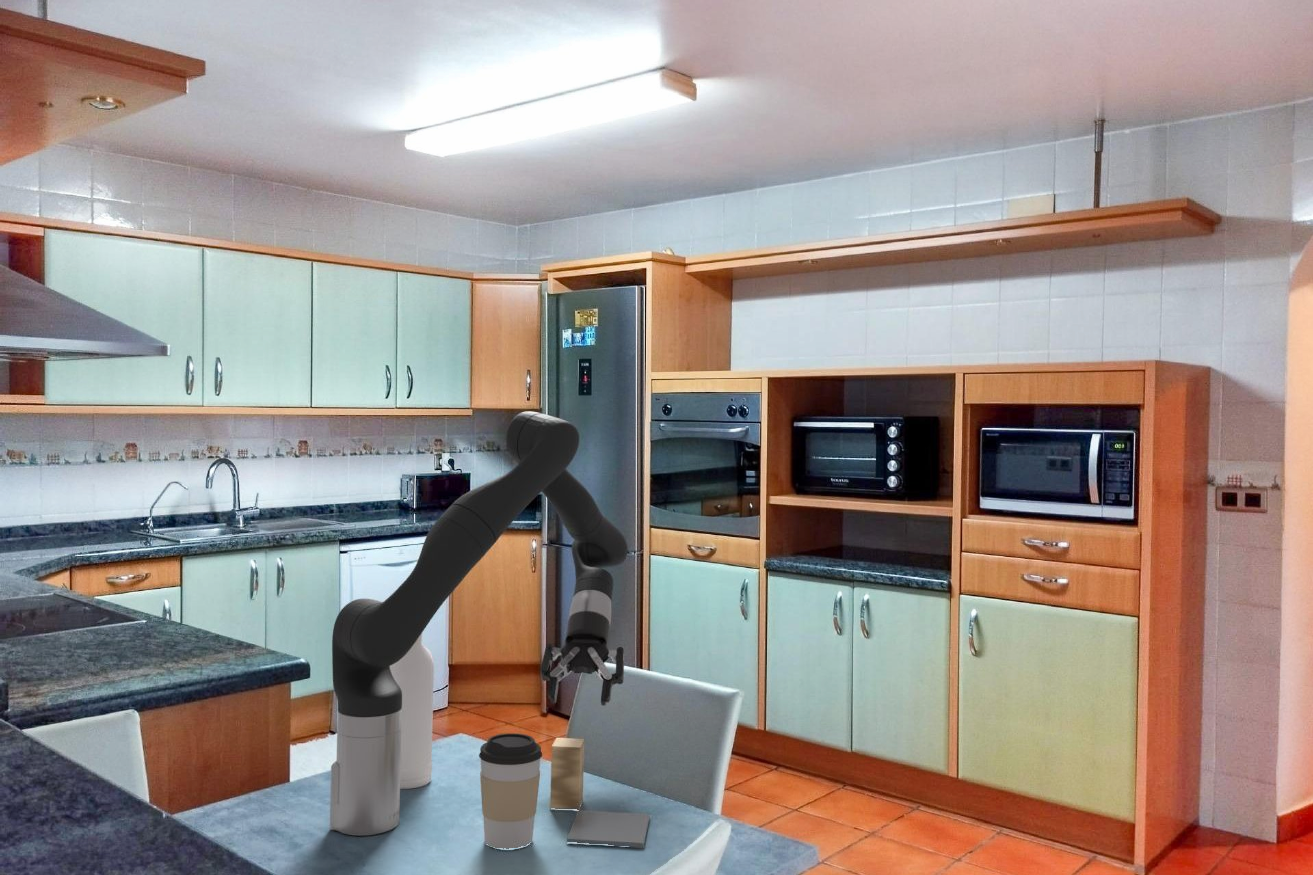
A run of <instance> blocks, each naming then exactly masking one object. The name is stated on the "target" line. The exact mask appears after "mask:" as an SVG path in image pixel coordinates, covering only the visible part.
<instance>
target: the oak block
mask: <svg viewBox="0 0 1313 875" xmlns="http://www.w3.org/2000/svg"><path fill="white" fill-rule="evenodd" d="M550 757H551V761H550V762H551V763H550V793H549V794H550V795H549V796H550V798H549V809H550V808H555V809H577V810H580V809H581V807H580V805H581V806H582V804H583V802H582V801H584V774H585V772H584V770H585V769H584V768H585V738H570V737H569V738H567V737H556V738H555V739H554V742H553V743H552V745H551V756H550ZM581 803H582V804H581ZM579 808H580V809H579Z"/></svg>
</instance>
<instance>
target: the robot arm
mask: <svg viewBox="0 0 1313 875" xmlns="http://www.w3.org/2000/svg"><path fill="white" fill-rule="evenodd" d="M505 435H506V436H505V443H506V447H507V450H508V452H509V454H510V456H511V457H512V458H513V460H514V461H515V462H516V463H517V465H516V466H515V467H514V468H512V469H511V470H509V471H508V472H507V473H505V474H503V475H502V476H500V477H498V478H495V479H493V480H490V481H489V482H486V483H484V484H482V485H480V486H477V487H475V488H473V489H471V490H469V491H468V492H466V493H464V494H462V495H461V496H460V497H458V498H457V499H456V500H454V502H452V504H450V506H449V507H448V508H447V509H446V510H445V511H444V512H443V513H442V515H441V516H440V517H438V519H437V520H436V521H435V523H434V524H433V525H432V526H431V528H430V529H429V531H428V533H427V534H426V537H425V539H424V542H423V544H422V547H421V549H420V550H421V551H420V554H419V557H418V559H417V562H416V564H415V566H414V568H413V569H412V571H411V573H410V574H409V575H408V576H407V578H406V579H405V580H404V581H403V582H402V583H401V584H400V585H399V586H398V587H397V589H396V590H395V591H393V593H391V594H390V595H389V596H388V597H386V599H385V600H384V601H381V600H380V601H379V600H375V599H374V598H373V599H370V598H357V599H354V600H352V601H349V602H348V603H347V604H345V605H344V606H343V607H342V608H341V610H340V611H339V612H338V614H337V616H336V619H335V621H334V624H333V629H332V636H331V638H332V641H331V650H332V651H331V654H332V655H331V659H332V660H331V661H332V663H331V664H332V665H331V666H332V686H333V690H334V692H335V697H336V698H337V722H336V723H337V724H336V725H337V726H336V728H337V731H336V734H337V735H336V760H335V761H334V762H333V763H332V764H331V766H330V790H329V791H330V794H329V795H330V798H329V804H330V805H329V830H331V831H337V832H339V833H341V834H343V835H348V836H349V835H350V836H373V835H378V834H382V833H383V834H384V833H386V832H389V831H391V830H393V829H394V828H396V827H397V826H398V825H399V823H400V811H401V810H400V809H401V806H400V802H401V800H400V797H401V789H400V768H401V729H402V728H401V727H402V691H401V688H400V687H399V685H398V684H397V683H396V681H395V680H394V678H393V676H392V673H391V670H390V665H393V664H394V663H396V662H398V661H399V660H400V659H402V658H403V657H404V656H405V655H406V654H407V652H408V651H409V650H410V649H411V647H412V646H413V645H414V643H415V642H416V641H417V639H418V638H419V636H420V635H421V633H422V634H423V632H424V631H425V629H426V628H427V626H428V625H429V623H430V622H431V620H432V619H433V617H434V616H435V614H436V613H437V612H438V610H439V609H440V608H441V606H442V605H443V604H444V602H445V601H446V600H447V599H448V598H449V596H451V594H452V593H453V592H454V591H455V589H456V588H457V587H458V586H459V585H460V584H461V582H462V581H463V580H464V578H465V577H466V576H467V575H468V574H469V573H470V571H472V570H473V568H474V567H476V565H477V564H478V563H479V562H480V561H481V560H482V559H483V558H484V556H485V555H486V554H487V553H488V552H489V550H490V549H491V548H493V546H494V545H495V544H496V542H497V541H498V540H499V538H501V537H502V535H504V534H503V533H504V532H505V531H506V530H507V528H509V526H510V525H511V524H512V523H513V522H514V521H515V520H516V519H517V518H518V517H519V515H520V514H521V513H523V511H524V510H525V509H526V508H527V506H529V504H531V502H532V501H534V499H536V497H537V496H539V495H540V494H541V493H543V495H544V496H545V497H546V498H547V500H548V501H549V502H550V504H551V505H552V507H553V509H554V510H555V512H556V514H557V515H558V517H559V519H560V520H561V522H562V524H563V526H564V527H565V529H566V532H567V533H568V534H569V536H570V537H571V538H572V539H573V540H572V544H571V555H572V556H571V557H572V560H573V566H574V572H575V585H574V591H573V598H572V602H571V605H570V609H569V615H568V621H567V628H566V634H565V640H564V644H563V645H562V647H556V646H555V647H553V646H554V645H553V644H551V643H548V644H546V646H545V649H544V654H543V656H542V662H541V665H540V670H539V673H540V675H541V680H542V681H543V682H544V681H545V682H546V681H548V688H547V698H548V700H550V702H551V704H556V703H557V698H558V693H559V692H558V691H559V682H560V681H562V680H563V679H564V678H567V677H568V676H569V674H571V673H572V672H573V674H582V673H583V674H587V675H593V673H596V674H597V676H598V678H599V679H601V680H602V684H601V685H602V686H601V695H600V696H601V697H600V705H601V706H607V703H610V701H611V696H612V688H613V686H614V685H616V684H618V685H622V684H623V683H624V673H625V672H624V671H625V669H624V668H625V652H624V647H622V646H619V647H617V648H616V649H609V648H608V645H609V635H610V628H611V624H612V600H613V599H612V598H613V592H614V578H613V575H612V574H611V573H610V572H609V571H607V570H606V569H607V568H613V567H617V566H620V565H621V564H623V563H624V562H625V560H626V559H627V556H628V552H629V549H628V548H629V547H628V544H627V541H626V537H625V536H624V535H623V532H622V531H621V530H620V529H619V528H618V527H617V526H616V525H615V524H614V523H612V522H611V521H610V520H609V519H608V518H607V517H606V516H604V515H603V514H602V512H601V510H600V509H599V507H598V505H597V503H596V501H595V499H594V498H593V495H592V494H591V493H590V492H589V490H588V489H587V488H586V487H585V486H584V484H582V483H581V482H580V481H579V480H578V479H577V478H576V477H575V476H574V475H573V474H572V473H571V472H570V471H569V470H568V469H567V468H568V466H569V465H570V464H571V462H572V461H573V460H574V458H575V456H576V454H577V452H578V450H579V449H578V448H579V445H580V433H579V431H578V429H577V427H576V426H575V425H574V424H573V423H571V422H569V421H567V420H564V419H562V418H559V417H556V416H552V415H548V414H546V413H541V412H536V411H529V410H528V411H523V412H520V413H518V414H517V415H515V417H513V419H511V421H510V423H509V424H508V426H507V430H506V434H505ZM605 568H606V569H605ZM559 656H561V658H562V659H561V660H560V661H559V662H558V664H557V666H556V667H554V669H552V670H551V668H552V665H553V662H554V661H556V660H557V659H558V657H559ZM609 658H611V660H612V663H614V664H615V673H611V672H610V670H609V669H608V668H607V666H606V664H605V663H606V662H607V661H608V660H609Z"/></svg>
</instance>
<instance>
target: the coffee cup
mask: <svg viewBox="0 0 1313 875" xmlns="http://www.w3.org/2000/svg"><path fill="white" fill-rule="evenodd" d="M542 756H543V751H542V748H541V746H540V744H538V743H537V742H536V741H535V738H533V736H530V735H527V734H524V733H514V732H513V733H499V734H495V735H492V736H490V737H489V738H488V739H487V741H486V742H485V743H483V744H482V745H481V746H480V752H479V754H478V757H479V759H480V771H479V772H480V773H479V775H480V776H479V779H480V792H481V795H480V796H481V811H482V816H483V834H484V844H485V843H486V844H488V845H489V846H492V847H495V848H503V849H504V848H506V849H509V848H518V847H521V846H526V845H527V844H529V843H530V842H532V843H533V840H534V839H533V836H534V827H535V826H534V825H535V817H536V814H537V806H538V799H539V798H538V797H539V789H540V788H539V787H540V779H541V770H540V767H541V758H542ZM486 844H485V845H486Z"/></svg>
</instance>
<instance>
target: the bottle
mask: <svg viewBox="0 0 1313 875" xmlns="http://www.w3.org/2000/svg"><path fill="white" fill-rule="evenodd" d="M390 670H391V673H392V676H393V678H394V680H395V681H396V683H397V684H398V685H399V687H400V688H401V691H402V727H401V728H402V729H401V768H400V790H405V789H406V790H409V789H410V790H411V789H417V788H421V787H424V786H426V785H428V784H429V783H430V782H431V781H432V772H433V759H432V756H433V724H434V723H433V722H434V721H433V719H434V718H433V716H434V680H435V678H434V677H435V676H434V673H435V662H434V658H433V656H432V652H431V650H429V648H427V647H426V646H425V645H424V644H423V632H422V633H421V635H420V636H419V638H418V639H417V641H416V642H415V643H414V645H413V646H412V647H411V649H410V650H409V651H408V652H407V654H406V655H405V656H404V657H403V658H402V659H400V660H399V661H398V662H396V663H394V664H393V665H390Z"/></svg>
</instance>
